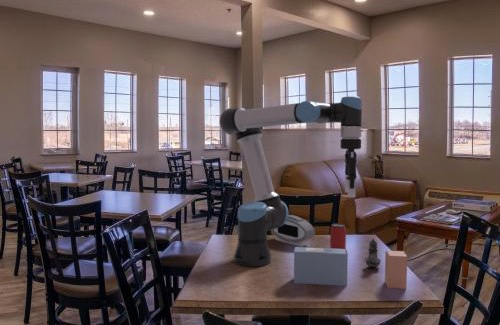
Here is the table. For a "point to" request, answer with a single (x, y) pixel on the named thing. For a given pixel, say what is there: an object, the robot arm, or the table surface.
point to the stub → (395, 269)
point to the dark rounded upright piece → (372, 256)
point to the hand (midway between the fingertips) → (349, 194)
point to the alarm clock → (294, 231)
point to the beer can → (338, 236)
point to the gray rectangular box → (320, 266)
